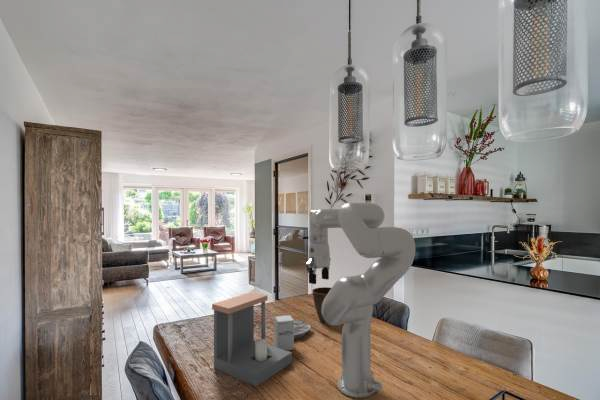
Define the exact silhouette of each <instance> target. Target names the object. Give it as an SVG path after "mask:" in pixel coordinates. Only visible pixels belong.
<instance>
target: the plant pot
mask: <svg viewBox="0 0 600 400" xmlns="http://www.w3.org/2000/svg"><path fill="white" fill-rule="evenodd" d="M331 288H332V287H326V286H324V287H323V286H322V287H316V288H313V289H312V291H311V292H312V298H313V303H314V304H313V305H314V307H315V311H316V314H317V317H318V320H319V321H320V323H326V324H328V323H327V322H326V321H325V320H324V318H323V316H322V303H323V300H324V298H325V297H326V295H327V294H328V292H329V291H330V290H331Z"/></svg>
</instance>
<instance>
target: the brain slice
mask: <svg viewBox="0 0 600 400" xmlns="http://www.w3.org/2000/svg"><path fill="white" fill-rule="evenodd" d="M311 328H312V325H311V324H309V323H307V321H305V320H304V321H302V320H294V340H295V339H302V338H303V337H305V335H306V334H307V333H308V332H309V331H310V330H311Z"/></svg>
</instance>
